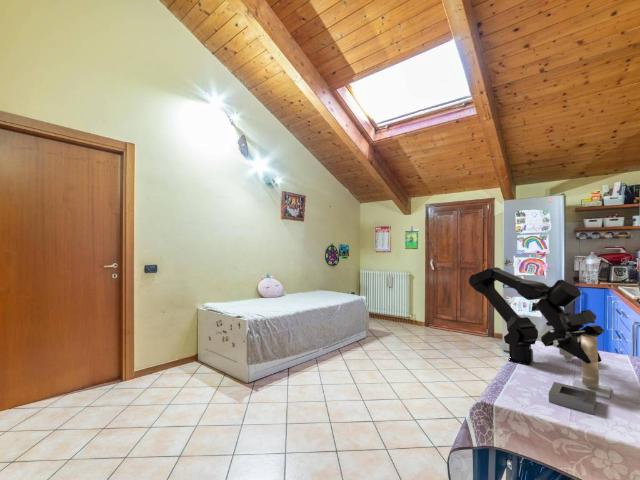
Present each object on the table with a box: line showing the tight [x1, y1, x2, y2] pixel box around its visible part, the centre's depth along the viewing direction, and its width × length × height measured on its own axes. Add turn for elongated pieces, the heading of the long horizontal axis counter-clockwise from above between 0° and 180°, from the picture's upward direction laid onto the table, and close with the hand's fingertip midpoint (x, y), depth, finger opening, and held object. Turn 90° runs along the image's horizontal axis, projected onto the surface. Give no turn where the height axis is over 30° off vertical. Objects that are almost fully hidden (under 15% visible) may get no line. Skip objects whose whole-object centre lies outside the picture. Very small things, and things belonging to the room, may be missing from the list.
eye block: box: [548, 381, 597, 415], centre depth 81 cm, size 9×9×2 cm
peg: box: [581, 335, 600, 388], centre depth 88 cm, size 4×4×14 cm
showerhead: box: [551, 340, 576, 362], centre depth 110 cm, size 9×7×10 cm
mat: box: [572, 379, 612, 400], centre depth 87 cm, size 8×8×1 cm
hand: (594, 362), depth 86 cm, fingers closed on peg, 4 cm apart
